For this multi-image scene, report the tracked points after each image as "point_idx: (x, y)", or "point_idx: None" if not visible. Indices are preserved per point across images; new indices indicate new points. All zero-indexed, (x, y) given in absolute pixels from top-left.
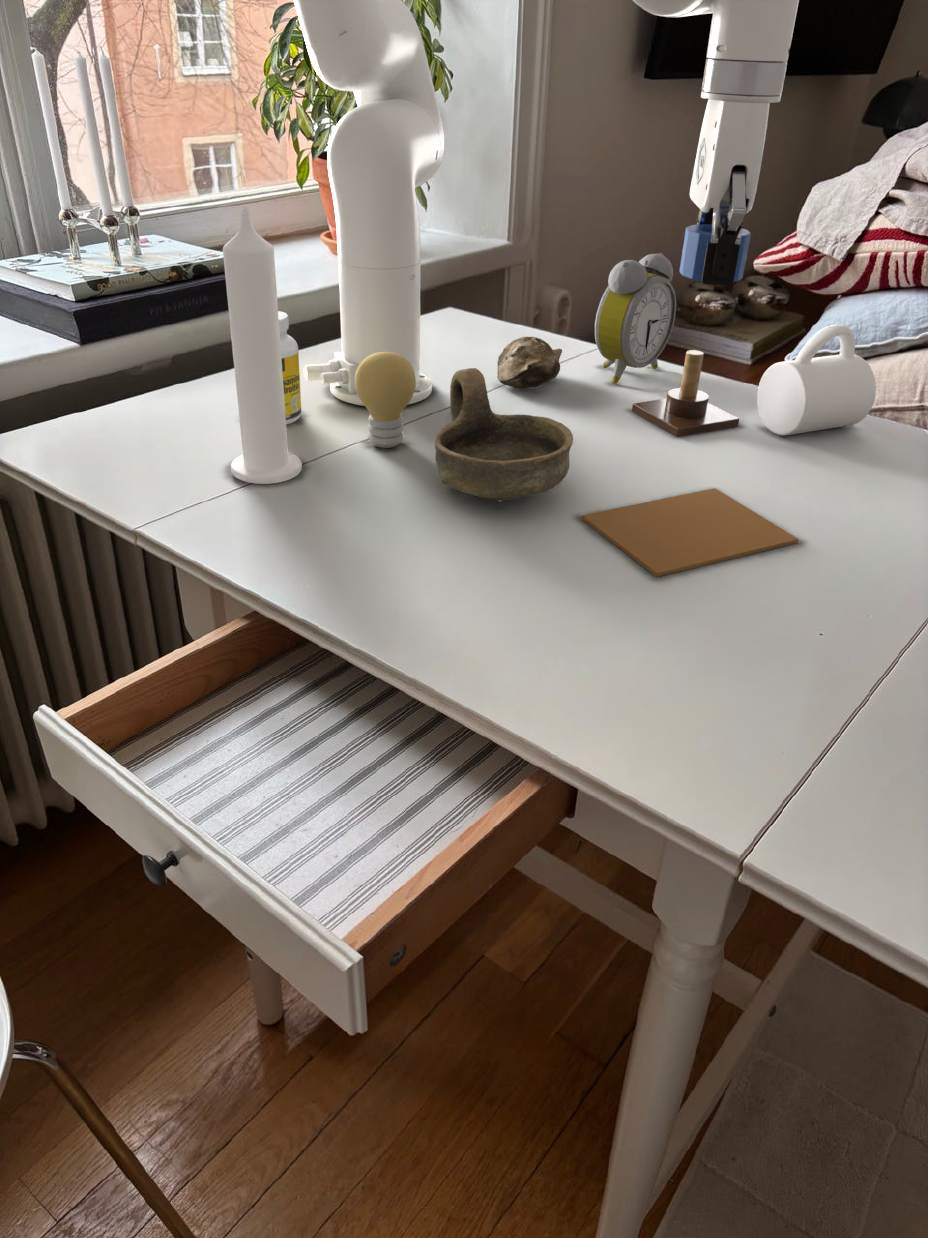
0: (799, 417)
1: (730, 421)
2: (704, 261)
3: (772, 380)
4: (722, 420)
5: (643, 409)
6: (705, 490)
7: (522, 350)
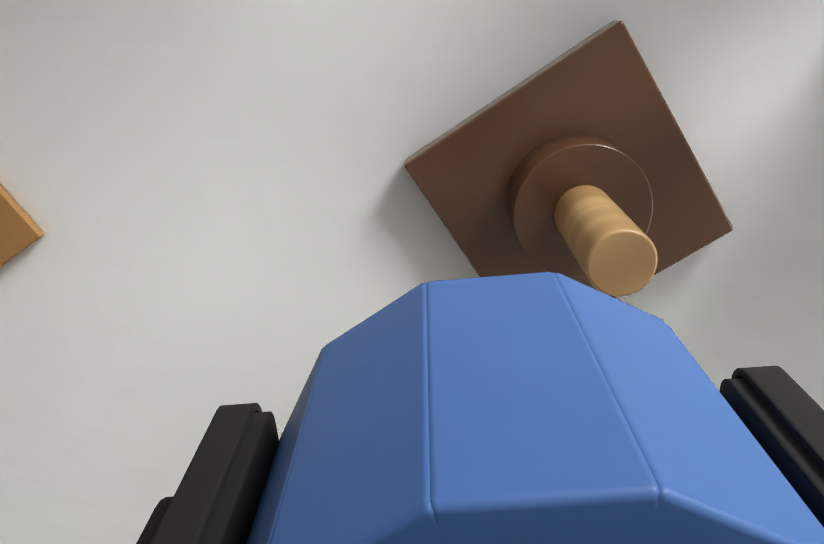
0: None
1: None
2: (201, 489)
3: None
4: None
5: (566, 58)
6: (12, 211)
7: None
